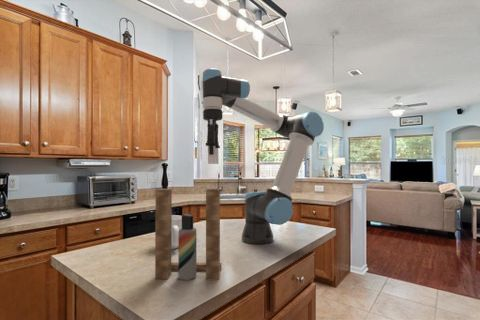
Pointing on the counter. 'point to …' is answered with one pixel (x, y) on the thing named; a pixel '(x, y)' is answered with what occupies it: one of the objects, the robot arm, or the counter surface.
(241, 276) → the counter surface
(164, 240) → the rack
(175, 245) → the mug
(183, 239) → the lotion bottle
